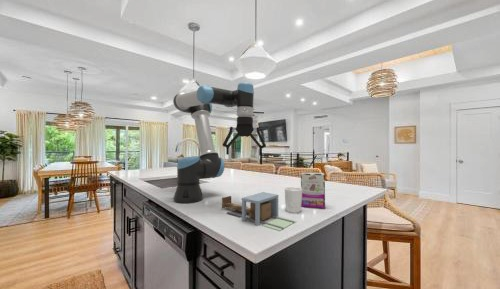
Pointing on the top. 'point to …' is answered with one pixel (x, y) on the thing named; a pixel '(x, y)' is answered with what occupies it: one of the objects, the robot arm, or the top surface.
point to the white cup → (293, 199)
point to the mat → (279, 223)
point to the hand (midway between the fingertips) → (243, 162)
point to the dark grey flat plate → (236, 213)
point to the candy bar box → (313, 190)
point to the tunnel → (257, 200)
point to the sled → (264, 208)
